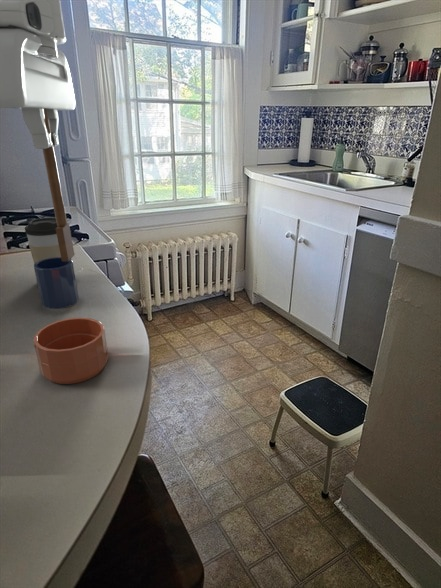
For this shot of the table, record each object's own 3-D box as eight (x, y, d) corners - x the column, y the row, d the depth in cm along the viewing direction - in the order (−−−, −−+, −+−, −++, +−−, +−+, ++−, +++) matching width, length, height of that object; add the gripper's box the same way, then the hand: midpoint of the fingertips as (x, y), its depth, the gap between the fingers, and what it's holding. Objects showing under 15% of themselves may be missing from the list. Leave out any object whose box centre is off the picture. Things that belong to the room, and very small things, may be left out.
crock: (36, 311, 79) (27, 269, 75) (49, 296, 85) (42, 257, 82) (72, 310, 79) (65, 269, 75) (83, 295, 86) (76, 256, 82)
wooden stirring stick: (60, 261, 57) (29, 101, 48) (66, 255, 60) (38, 102, 51) (70, 261, 57) (40, 101, 48) (76, 255, 60) (49, 102, 51)
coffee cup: (37, 276, 96) (25, 216, 89) (76, 272, 98) (67, 213, 92) (34, 291, 88) (20, 225, 81) (76, 286, 90) (66, 222, 84)
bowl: (30, 387, 57) (21, 351, 54) (54, 349, 66) (48, 317, 63) (99, 385, 57) (94, 350, 55) (114, 348, 66) (110, 316, 64)
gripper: (32, 39, 56) (51, 143, 61) (-54, 0, 37) (-16, 154, 43) (77, 39, 56) (91, 142, 61) (14, -1, 37) (43, 153, 43)
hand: (47, 147), depth 52 cm, fingers closed on wooden stirring stick, 1 cm apart
